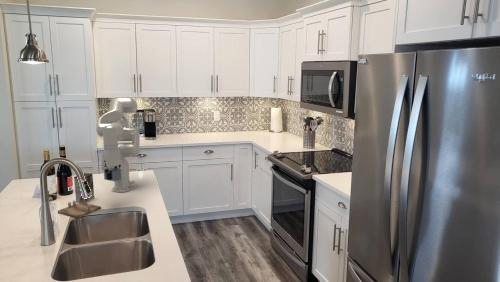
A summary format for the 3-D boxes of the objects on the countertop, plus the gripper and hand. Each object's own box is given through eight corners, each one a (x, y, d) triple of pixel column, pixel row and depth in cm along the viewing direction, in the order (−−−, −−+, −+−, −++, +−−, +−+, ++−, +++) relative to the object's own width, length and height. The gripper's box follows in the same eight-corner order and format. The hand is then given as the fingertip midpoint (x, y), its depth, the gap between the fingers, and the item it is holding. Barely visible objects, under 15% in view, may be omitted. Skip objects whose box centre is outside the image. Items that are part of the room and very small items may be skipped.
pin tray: (81, 203, 216) (81, 197, 215) (101, 208, 209) (100, 201, 208) (57, 212, 202) (56, 205, 201) (77, 218, 195) (76, 210, 194)
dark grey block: (111, 177, 214) (110, 167, 212) (121, 179, 210) (120, 169, 209) (104, 179, 209) (103, 169, 208) (114, 181, 206) (114, 171, 205)
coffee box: (85, 197, 227) (83, 172, 224) (94, 198, 226) (92, 173, 223) (75, 202, 218) (73, 176, 215) (85, 203, 217) (83, 177, 214)
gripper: (117, 143, 215) (119, 173, 219) (93, 149, 200) (96, 181, 204) (127, 145, 212) (128, 175, 215) (103, 150, 197) (105, 183, 200)
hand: (112, 177), depth 210 cm, fingers closed on dark grey block, 5 cm apart
